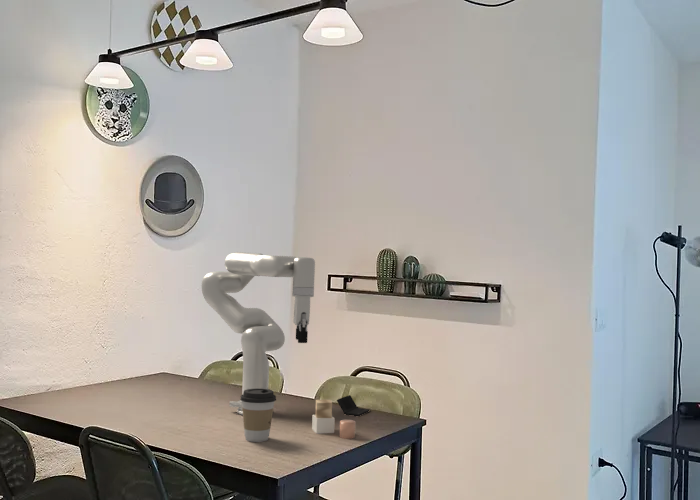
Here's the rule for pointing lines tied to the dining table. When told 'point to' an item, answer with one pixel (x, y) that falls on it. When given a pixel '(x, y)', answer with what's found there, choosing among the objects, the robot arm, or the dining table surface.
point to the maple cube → (323, 409)
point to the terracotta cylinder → (347, 429)
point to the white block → (323, 425)
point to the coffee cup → (257, 413)
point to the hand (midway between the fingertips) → (301, 341)
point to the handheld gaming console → (350, 406)
